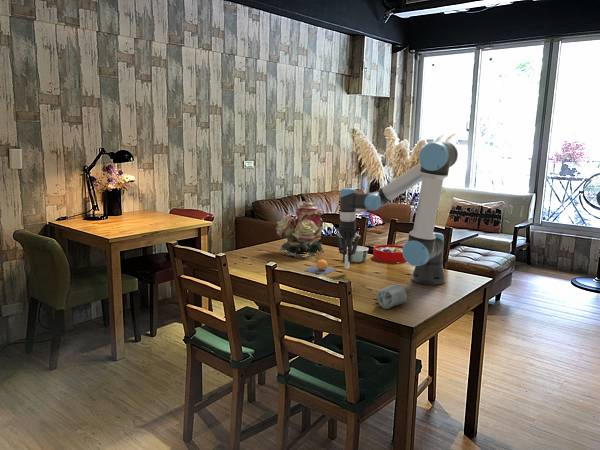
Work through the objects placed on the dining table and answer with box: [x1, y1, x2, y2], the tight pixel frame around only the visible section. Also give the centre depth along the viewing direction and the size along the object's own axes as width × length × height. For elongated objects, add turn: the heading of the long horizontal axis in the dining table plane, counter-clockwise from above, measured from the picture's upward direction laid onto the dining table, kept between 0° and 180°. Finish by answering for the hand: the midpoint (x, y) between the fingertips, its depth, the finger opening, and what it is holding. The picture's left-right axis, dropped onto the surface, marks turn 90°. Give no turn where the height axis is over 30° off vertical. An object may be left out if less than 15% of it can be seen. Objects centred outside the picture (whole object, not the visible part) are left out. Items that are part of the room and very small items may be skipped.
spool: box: [376, 284, 408, 310], centre depth 202 cm, size 14×10×10 cm
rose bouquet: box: [275, 200, 325, 259], centre depth 289 cm, size 26×29×30 cm
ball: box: [316, 259, 328, 271], centre depth 254 cm, size 6×6×6 cm
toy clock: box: [372, 244, 408, 264], centre depth 282 cm, size 20×6×20 cm
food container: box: [347, 245, 369, 263], centre depth 277 cm, size 12×12×6 cm
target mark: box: [304, 265, 336, 275], centre depth 255 cm, size 12×12×1 cm
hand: (347, 268), depth 248 cm, fingers closed
